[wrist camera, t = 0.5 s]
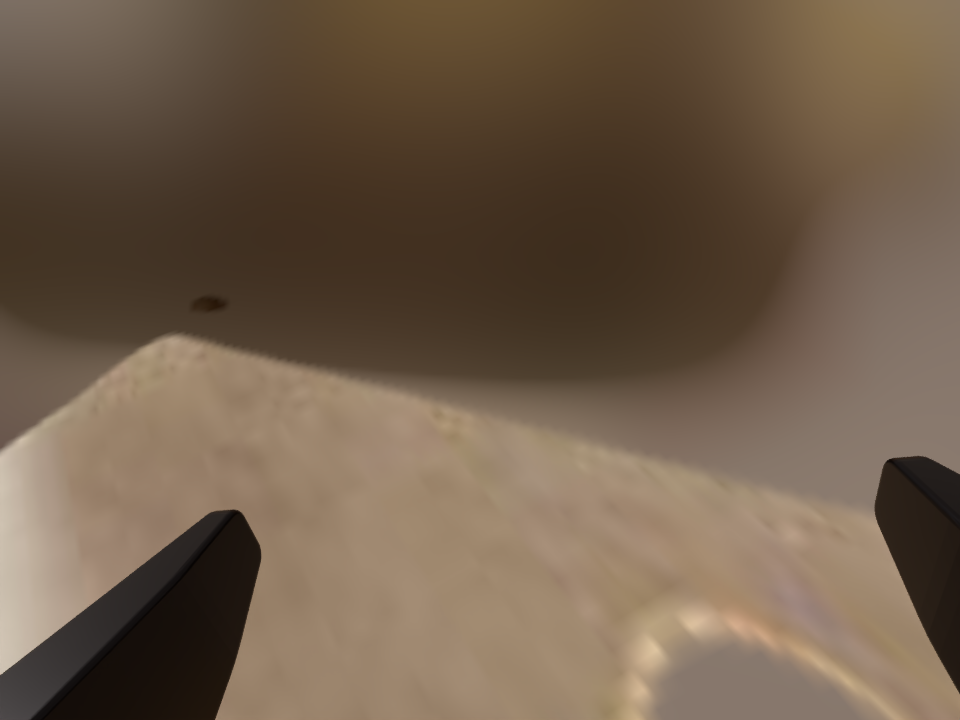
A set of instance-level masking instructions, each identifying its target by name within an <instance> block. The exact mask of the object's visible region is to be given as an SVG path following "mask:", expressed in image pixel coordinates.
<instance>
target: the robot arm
mask: <svg viewBox="0 0 960 720" xmlns="http://www.w3.org/2000/svg"><path fill="white" fill-rule="evenodd" d="M875 516H876V520H877V523H878V525H879V527H880V530H881V532H882V534H883V537H884V539H885V541H886V544H887V546H888V548H889V550H890V553H891V555H892V557H893V560H894V562H895V564H896V567H897V569H898V571H899V573H900V576H901V578H902V580H903V583H904V585H905V587H906V589H907V592H908V594H909V596H910V599H911V601H912V603H913V606H914V608H915V610H916V612H917V615H918V617H919V619H920V621H921V623H922V626H923V628H924V630H925V632H926V634H927V636H928V638H929V640H930V642H931V644H932V646H933V647H934V649H935V651H936V653H937V655H938V657H939V658H940V660H941V662H942V664H943V665H944V667H945V669H946V671H947V672H948V674H949V676H950V678H951V679H952V681H953V683H954V685H955V686H956V688H957V690H958V692H959V694H960V474H958V473H956V472H954V471H952V470H950V469H949V468H947V467H945V466H943V465H941V464H939V463H937V462H935V461H934V460H931V459H929V458H927V457H923V456H913V457H901V458H892V459H889V460H887V461H886V463H885V464H884V466H883V469H882V474H881V478H880V483H879V487H878V491H877V496H876V500H875ZM260 563H261V549H260V545H259V543H258V541H257V539H256V537H255V535H254V533H253V532H252V530H251V528H250V526H249V524H248V522H247V520H246V519H245V517H244V515H243V514H242V513H241V512H240V511H238V510H222V511H214V512H211V513H209V514H208V515H206V516H205V517H204V518H202V519H201V520H200V521H199V522H197V523H196V524H195V525H193V526H192V527H191V528H189V529H188V530H187V531H186V532H184V533H183V534H182V535H180V536H179V537H178V538H177V539H175V540H174V541H173V542H171V543H170V544H169V545H168V546H166V547H165V548H164V549H162V550H161V551H160V552H159V553H157V554H156V555H155V556H153V557H152V558H151V559H150V560H148V561H147V562H146V563H144V564H143V565H142V566H141V567H139V568H138V569H137V570H135V571H134V572H133V573H132V574H130V575H129V576H128V577H126V578H125V579H124V580H122V581H121V582H120V583H119V584H117V585H116V586H115V587H113V588H112V589H111V590H110V591H108V592H107V593H106V594H104V595H103V596H102V597H101V598H99V599H98V600H97V601H95V602H94V603H93V604H92V605H90V606H89V607H88V608H86V609H85V610H84V611H83V612H81V613H80V614H79V615H77V616H76V617H75V618H74V619H72V620H71V621H70V622H68V623H67V624H66V625H65V626H63V627H62V628H61V629H59V630H58V631H57V632H55V633H54V634H53V635H52V636H50V637H49V638H48V639H46V640H45V641H44V642H43V643H41V644H40V645H39V646H37V647H36V648H35V649H34V650H32V651H31V652H30V653H28V654H27V655H26V656H25V657H23V658H22V659H21V660H19V661H18V662H17V663H16V664H14V665H13V666H12V667H10V668H9V669H8V670H7V671H5V672H4V673H3V674H1V675H0V720H215V718H216V716H217V713H218V710H219V707H220V704H221V701H222V699H223V696H224V693H225V690H226V687H227V684H228V682H229V679H230V676H231V673H232V670H233V667H234V664H235V661H236V657H237V654H238V650H239V647H240V643H241V639H242V635H243V631H244V627H245V623H246V619H247V615H248V611H249V607H250V603H251V599H252V595H253V591H254V587H255V583H256V579H257V575H258V571H259V567H260Z"/></svg>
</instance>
